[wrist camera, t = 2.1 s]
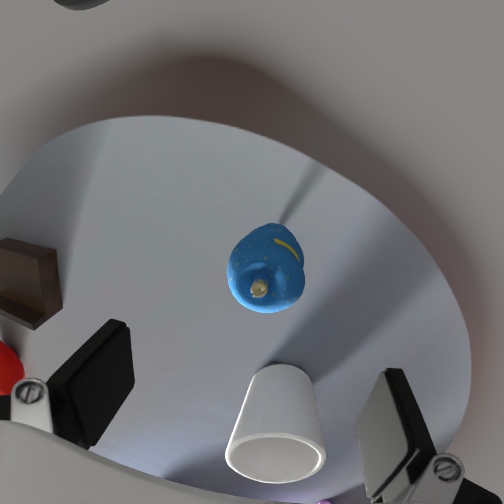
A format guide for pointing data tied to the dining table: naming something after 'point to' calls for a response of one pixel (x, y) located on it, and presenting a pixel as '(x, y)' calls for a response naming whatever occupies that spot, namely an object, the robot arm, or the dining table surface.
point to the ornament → (267, 269)
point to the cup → (277, 428)
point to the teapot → (324, 502)
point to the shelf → (28, 283)
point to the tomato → (9, 369)
